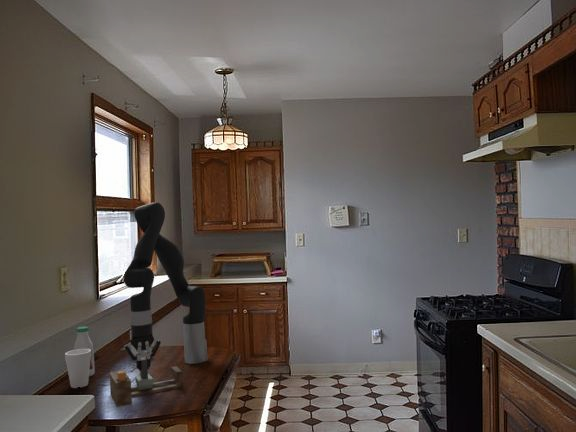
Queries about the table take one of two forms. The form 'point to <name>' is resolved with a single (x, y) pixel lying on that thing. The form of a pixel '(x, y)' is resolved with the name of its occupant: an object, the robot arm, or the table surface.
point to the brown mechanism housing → (125, 392)
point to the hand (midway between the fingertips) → (143, 369)
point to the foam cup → (78, 367)
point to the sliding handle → (144, 376)
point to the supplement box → (141, 351)
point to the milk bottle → (85, 345)
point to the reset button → (121, 376)
